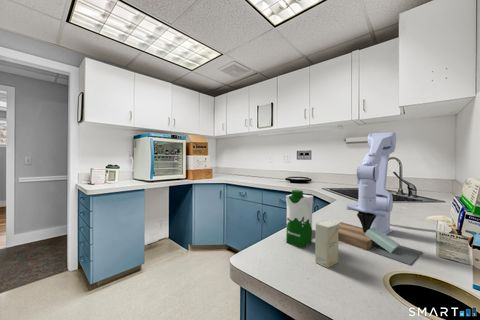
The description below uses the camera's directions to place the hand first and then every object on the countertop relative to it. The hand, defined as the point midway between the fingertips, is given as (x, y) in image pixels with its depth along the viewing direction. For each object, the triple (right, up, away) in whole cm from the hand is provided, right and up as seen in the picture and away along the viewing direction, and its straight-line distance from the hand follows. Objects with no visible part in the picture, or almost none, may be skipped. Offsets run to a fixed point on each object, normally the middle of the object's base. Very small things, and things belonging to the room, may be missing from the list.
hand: (366, 232), depth 78 cm
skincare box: (-21, -4, -15) cm, 26 cm away
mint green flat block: (+3, -2, -4) cm, 5 cm away
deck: (-3, -4, +4) cm, 6 cm away
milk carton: (-26, -4, 0) cm, 26 cm away
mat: (+6, -4, -7) cm, 10 cm away
